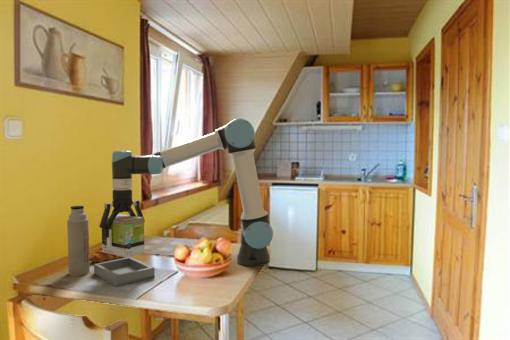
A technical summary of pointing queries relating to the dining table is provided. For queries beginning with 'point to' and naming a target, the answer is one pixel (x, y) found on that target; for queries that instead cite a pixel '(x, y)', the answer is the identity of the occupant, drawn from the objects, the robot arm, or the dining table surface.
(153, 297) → the dining table surface
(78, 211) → the thermos bottle
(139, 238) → the tea box
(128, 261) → the tray
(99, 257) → the croissant
